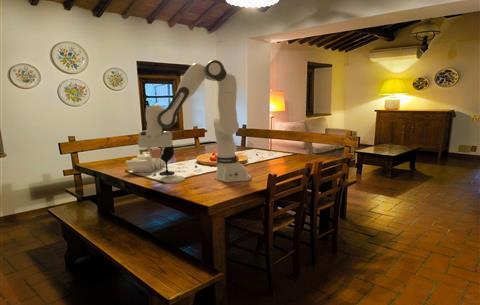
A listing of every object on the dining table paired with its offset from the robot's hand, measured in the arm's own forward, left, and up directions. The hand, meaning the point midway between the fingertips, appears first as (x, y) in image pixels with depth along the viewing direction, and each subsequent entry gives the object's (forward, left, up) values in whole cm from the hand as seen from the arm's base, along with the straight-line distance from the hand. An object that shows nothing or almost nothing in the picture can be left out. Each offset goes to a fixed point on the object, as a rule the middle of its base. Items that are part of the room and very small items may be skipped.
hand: (156, 154), depth 189 cm
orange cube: (0, 0, -2) cm, 2 cm away
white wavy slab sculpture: (+14, -32, -17) cm, 38 cm away
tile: (-9, 0, -16) cm, 19 cm away
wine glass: (-2, -16, -16) cm, 23 cm away
